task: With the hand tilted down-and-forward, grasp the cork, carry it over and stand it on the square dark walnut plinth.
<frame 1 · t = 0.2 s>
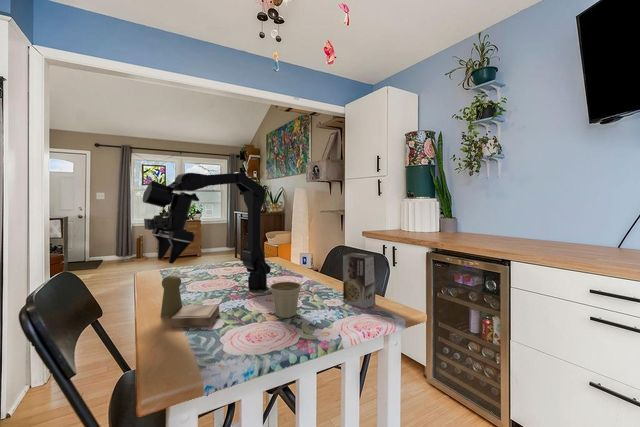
hand: (165, 261, 92), 15 cm above the table, tool tilted 15°, fingers open, 9 cm apart
coffee box: (359, 303, 100), on the table
flower pot: (285, 315, 90), on the table
walnut plinth: (196, 319, 85), on the table
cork: (172, 313, 90), on the table
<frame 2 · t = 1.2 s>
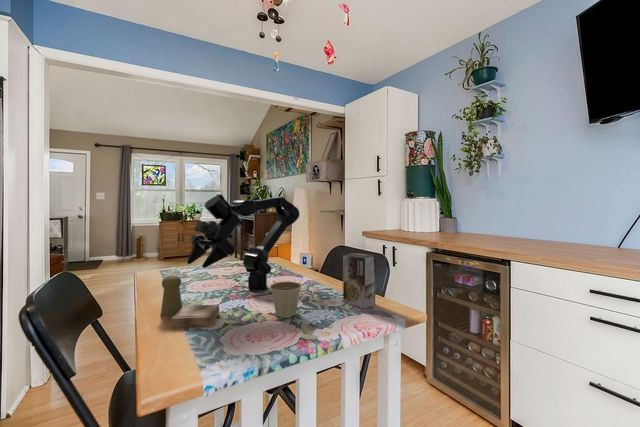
hand: (195, 265, 96), 13 cm above the table, tool tilted 45°, fingers open, 9 cm apart
nothing on the table moved.
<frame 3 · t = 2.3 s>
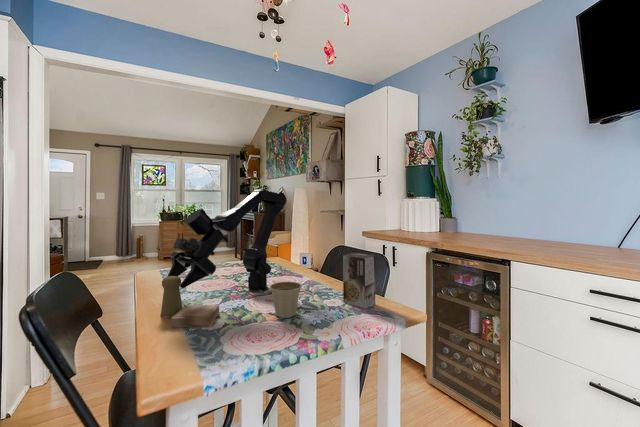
hand: (173, 284, 91), 8 cm above the table, tool tilted 45°, fingers open, 9 cm apart
nothing on the table moved.
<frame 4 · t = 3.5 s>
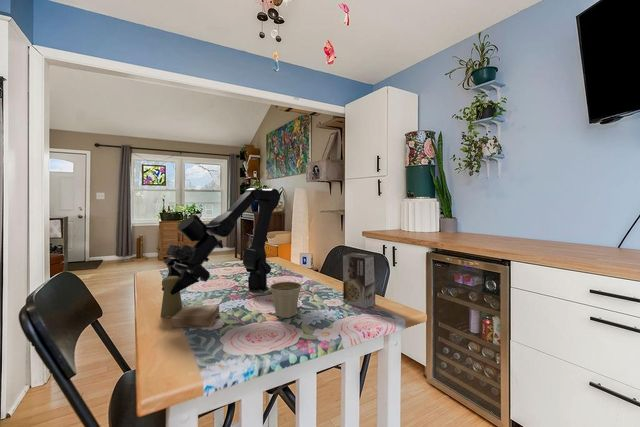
hand: (167, 292, 89), 7 cm above the table, tool tilted 45°, fingers closed on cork, 5 cm apart
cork: (172, 313, 90), on the table, touching gripper
everything else where it was.
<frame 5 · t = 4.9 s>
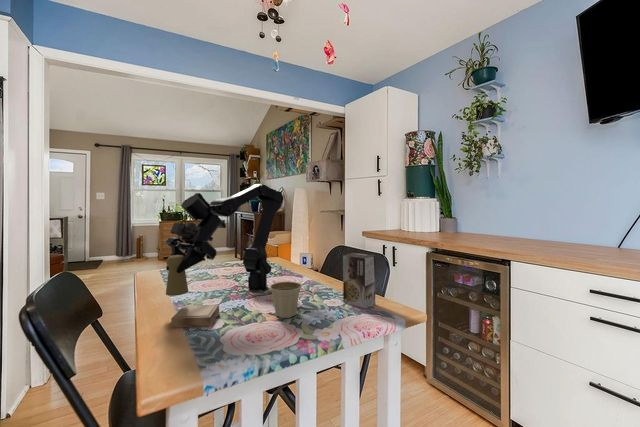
hand: (172, 271, 87), 13 cm above the table, tool tilted 45°, fingers closed on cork, 5 cm apart
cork: (177, 293, 89), point 6 cm above the table, touching gripper
everything else where it was.
when the fingers open (10 cm above the table, at t = 6.4 s): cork stays where it is, resting on walnut plinth.
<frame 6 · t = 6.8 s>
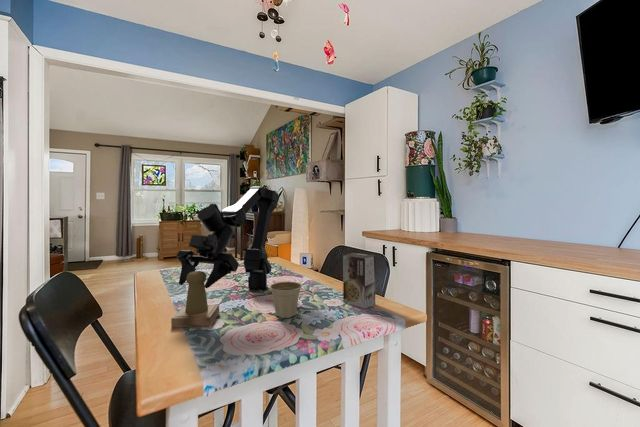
hand: (192, 285, 84), 10 cm above the table, tool tilted 45°, fingers open, 9 cm apart
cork: (196, 310, 85), point 2 cm above the table, touching walnut plinth
everything else where it was.
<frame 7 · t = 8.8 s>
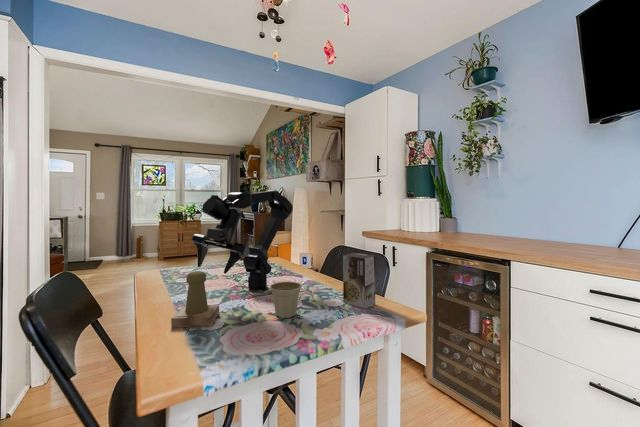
hand: (211, 270, 98), 11 cm above the table, tool tilted 25°, fingers open, 9 cm apart
nothing on the table moved.
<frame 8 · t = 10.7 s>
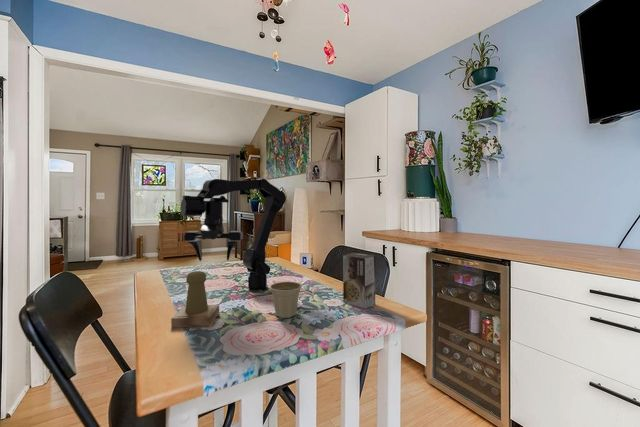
hand: (214, 260, 105), 13 cm above the table, tool pointing down, fingers open, 9 cm apart
nothing on the table moved.
at the end: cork inside the target area on the walnut plinth (0.2 cm from its centre), point 2.5 cm above the walnut plinth's base; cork tilted 0°; the gripper is holding nothing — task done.
